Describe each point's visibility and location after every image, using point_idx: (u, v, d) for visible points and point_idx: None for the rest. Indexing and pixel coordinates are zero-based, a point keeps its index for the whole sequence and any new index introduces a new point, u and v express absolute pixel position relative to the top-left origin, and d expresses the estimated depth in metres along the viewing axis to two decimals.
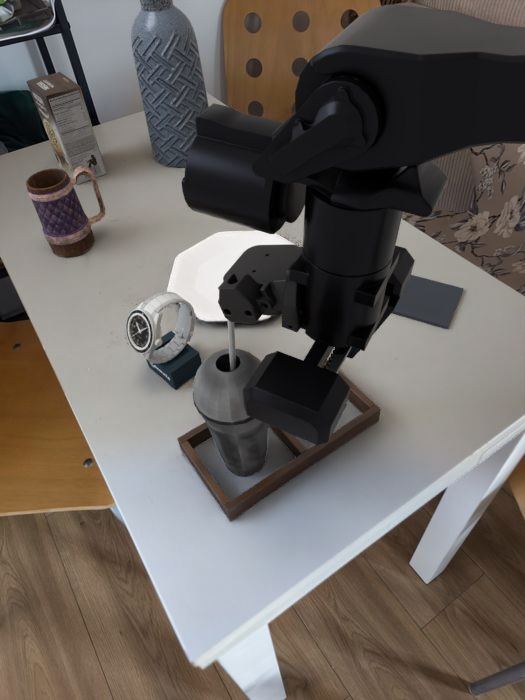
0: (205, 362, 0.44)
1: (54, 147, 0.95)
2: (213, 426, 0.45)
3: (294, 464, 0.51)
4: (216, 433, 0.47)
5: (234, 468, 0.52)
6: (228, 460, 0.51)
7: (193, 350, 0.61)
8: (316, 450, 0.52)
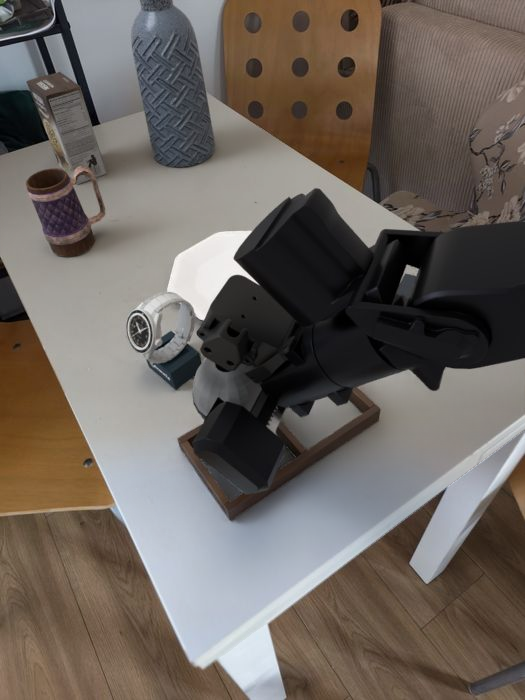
0: (205, 362, 0.44)
1: (54, 147, 0.95)
2: None
3: (294, 464, 0.51)
4: None
5: None
6: None
7: (193, 350, 0.61)
8: (316, 450, 0.52)
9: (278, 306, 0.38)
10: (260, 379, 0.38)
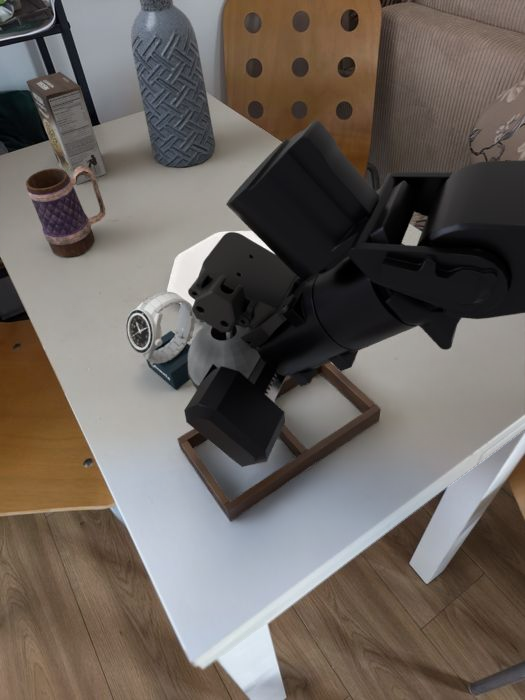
0: (200, 331, 0.42)
1: (54, 147, 0.95)
2: None
3: (294, 464, 0.51)
4: None
5: None
6: None
7: None
8: (316, 450, 0.52)
9: (276, 265, 0.36)
10: (257, 343, 0.35)
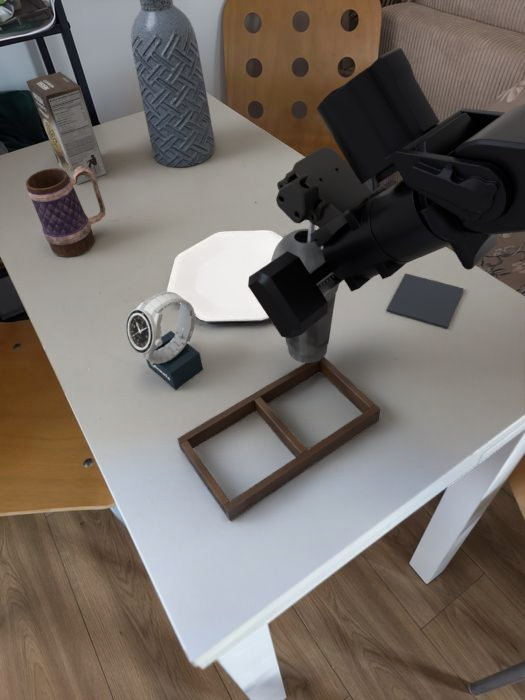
0: None
1: (54, 147, 0.95)
2: None
3: (294, 464, 0.51)
4: None
5: (293, 349, 0.57)
6: (289, 339, 0.56)
7: (193, 350, 0.61)
8: (316, 450, 0.52)
9: (356, 181, 0.42)
10: (322, 242, 0.42)
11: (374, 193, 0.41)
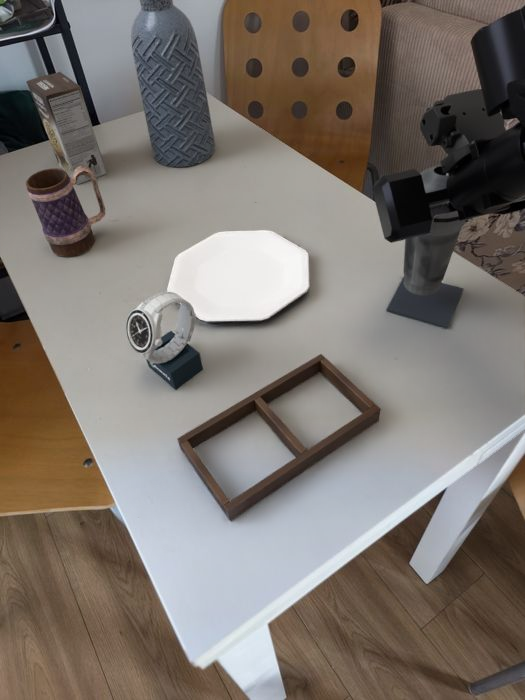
0: (431, 167, 0.56)
1: (54, 147, 0.95)
2: None
3: (294, 464, 0.51)
4: None
5: (406, 277, 0.64)
6: (405, 266, 0.63)
7: (193, 350, 0.61)
8: (316, 450, 0.52)
9: (497, 123, 0.47)
10: (447, 169, 0.49)
11: None
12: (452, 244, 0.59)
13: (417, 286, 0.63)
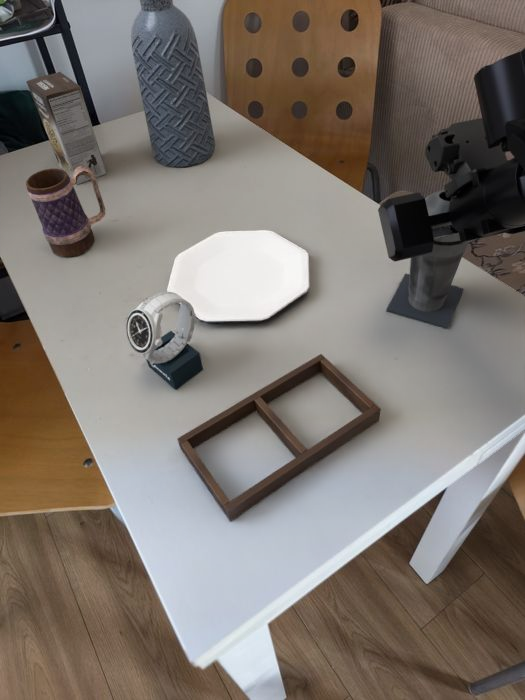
0: (437, 191, 0.59)
1: (54, 147, 0.95)
2: None
3: (294, 464, 0.51)
4: None
5: (411, 293, 0.67)
6: (410, 283, 0.66)
7: (193, 350, 0.61)
8: (316, 450, 0.52)
9: (498, 152, 0.50)
10: (450, 193, 0.51)
11: None
12: (455, 265, 0.61)
13: (421, 303, 0.66)
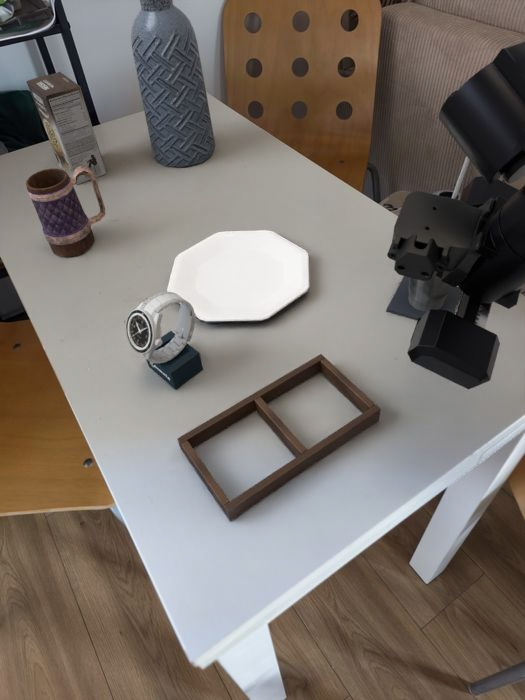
0: (437, 191, 0.59)
1: (54, 147, 0.95)
2: None
3: (294, 464, 0.51)
4: None
5: (411, 293, 0.67)
6: (410, 283, 0.66)
7: (193, 350, 0.61)
8: (316, 450, 0.52)
9: (460, 208, 0.39)
10: (458, 282, 0.40)
11: (488, 211, 0.38)
12: None
13: (421, 303, 0.66)
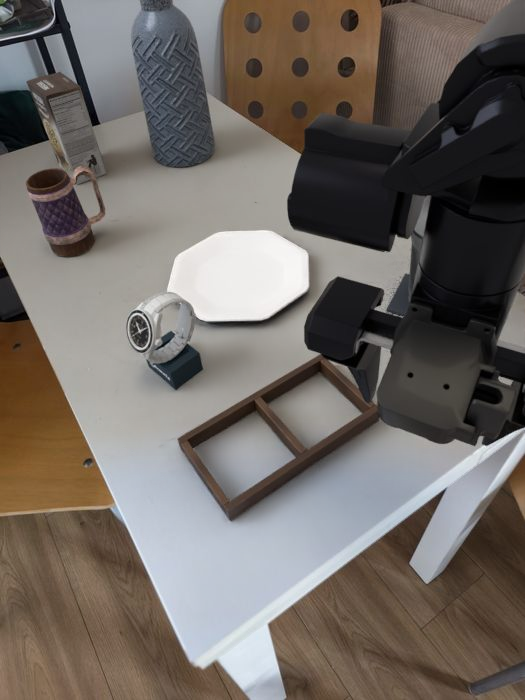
0: None
1: (54, 147, 0.95)
2: (412, 238, 0.61)
3: (294, 464, 0.51)
4: (412, 248, 0.62)
5: (411, 293, 0.67)
6: (410, 283, 0.66)
7: (193, 350, 0.61)
8: (316, 450, 0.52)
9: (412, 344, 0.30)
10: None
11: (433, 310, 0.29)
12: None
13: None
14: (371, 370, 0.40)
